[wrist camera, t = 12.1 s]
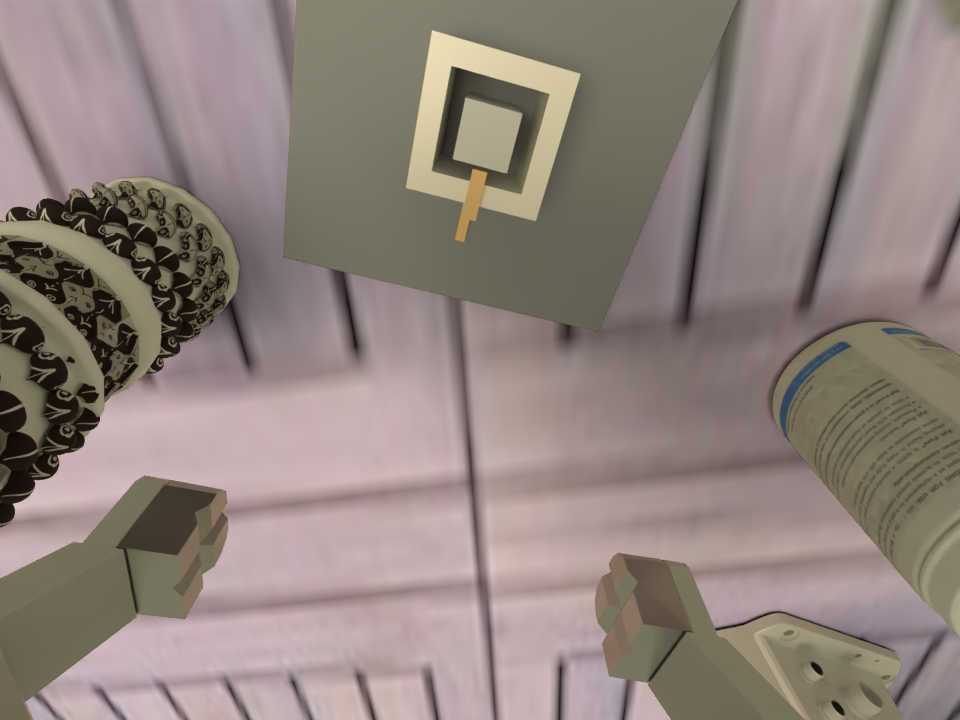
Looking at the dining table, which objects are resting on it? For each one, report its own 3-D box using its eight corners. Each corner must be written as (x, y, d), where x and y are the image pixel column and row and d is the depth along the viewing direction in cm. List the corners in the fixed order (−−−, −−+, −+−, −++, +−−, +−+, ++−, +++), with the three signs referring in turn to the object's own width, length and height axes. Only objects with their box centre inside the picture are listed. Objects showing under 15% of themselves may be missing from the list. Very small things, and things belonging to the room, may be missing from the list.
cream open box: (564, 72, 22) (582, 73, 18) (525, 208, 25) (532, 235, 21) (442, 36, 22) (431, 29, 18) (416, 180, 25) (402, 202, 21)
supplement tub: (779, 458, 35) (944, 679, 22) (752, 352, 31) (937, 552, 18) (931, 409, 33) (1211, 624, 20) (926, 288, 29) (1275, 465, 16)
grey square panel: (747, -50, 21) (835, -89, 16) (594, 322, 30) (617, 378, 25) (317, -196, 19) (250, -299, 14) (290, 250, 28) (244, 294, 23)
